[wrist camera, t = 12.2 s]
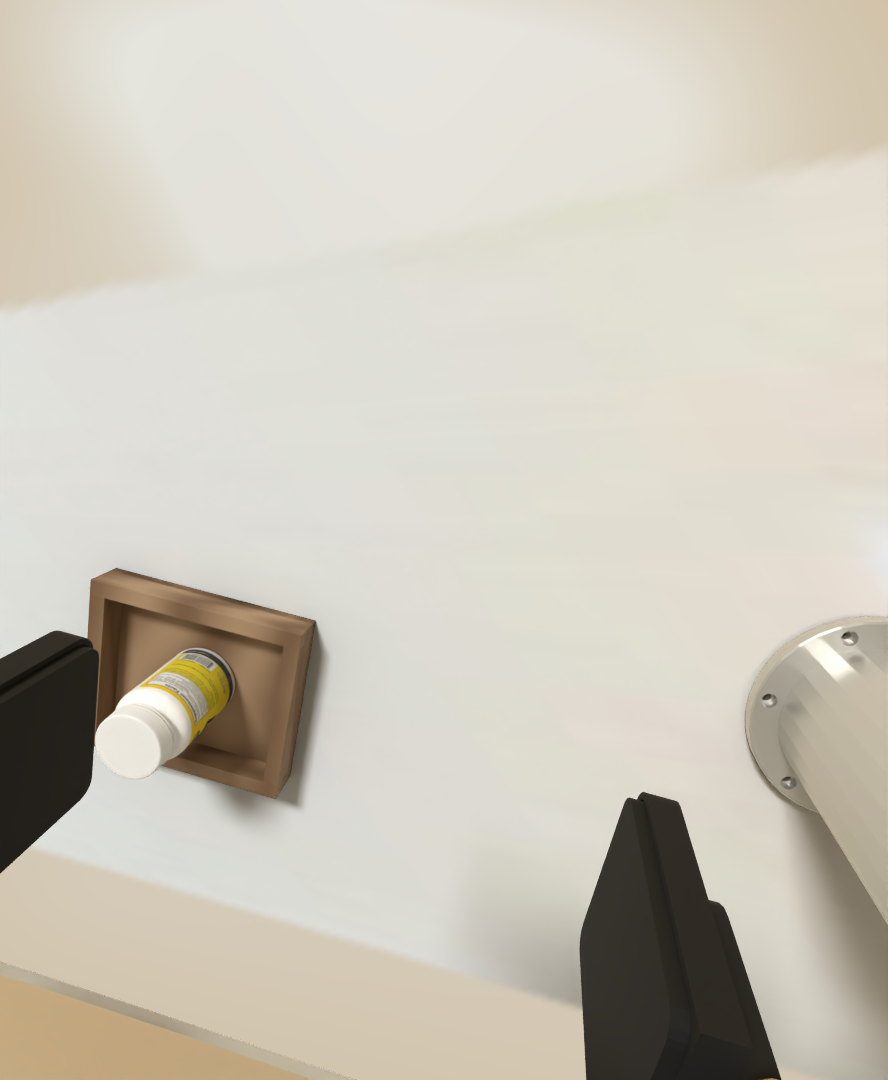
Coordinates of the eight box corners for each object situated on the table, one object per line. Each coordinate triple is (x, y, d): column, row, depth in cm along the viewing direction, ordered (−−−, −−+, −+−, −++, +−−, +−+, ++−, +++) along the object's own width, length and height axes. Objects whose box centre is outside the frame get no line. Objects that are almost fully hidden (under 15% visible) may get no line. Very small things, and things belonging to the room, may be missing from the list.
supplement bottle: (191, 718, 45) (112, 795, 37) (158, 659, 44) (71, 724, 36) (249, 698, 43) (181, 772, 35) (217, 636, 43) (140, 698, 35)
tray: (315, 620, 42) (301, 635, 40) (289, 776, 45) (275, 798, 43) (116, 568, 43) (90, 579, 41) (105, 723, 47) (81, 742, 44)
